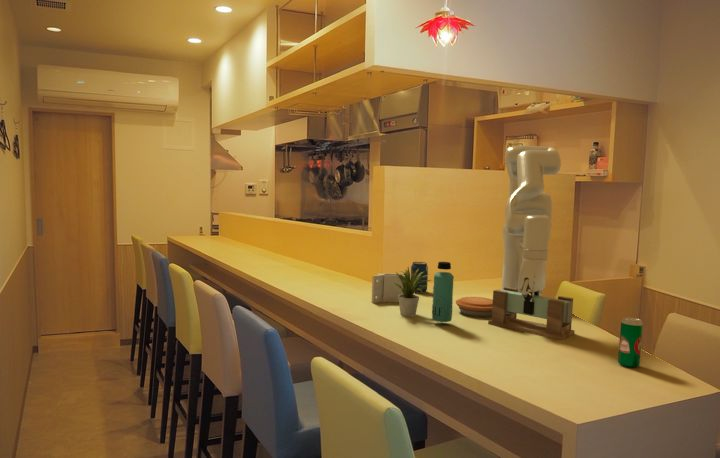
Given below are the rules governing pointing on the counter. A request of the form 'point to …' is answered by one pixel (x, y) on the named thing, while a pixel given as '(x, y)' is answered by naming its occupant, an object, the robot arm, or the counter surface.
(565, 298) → the post stand
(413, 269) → the soda can
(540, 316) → the rail
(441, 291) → the beverage bottle
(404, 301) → the house plant
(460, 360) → the counter surface
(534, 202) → the robot arm
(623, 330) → the soda can
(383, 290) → the hinge
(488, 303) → the pie
